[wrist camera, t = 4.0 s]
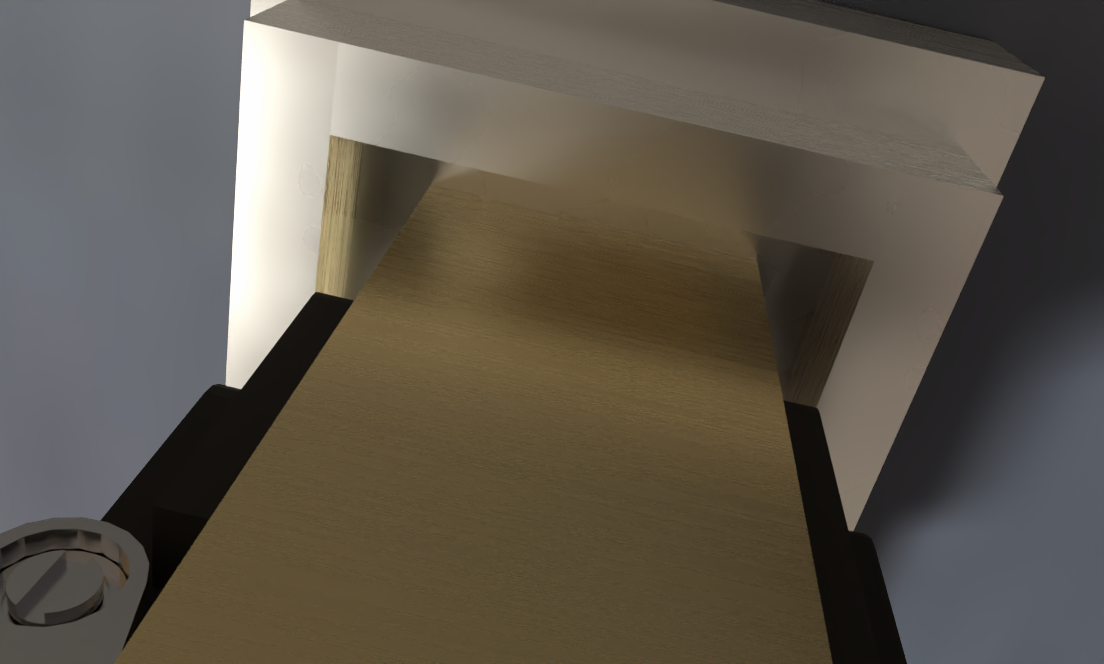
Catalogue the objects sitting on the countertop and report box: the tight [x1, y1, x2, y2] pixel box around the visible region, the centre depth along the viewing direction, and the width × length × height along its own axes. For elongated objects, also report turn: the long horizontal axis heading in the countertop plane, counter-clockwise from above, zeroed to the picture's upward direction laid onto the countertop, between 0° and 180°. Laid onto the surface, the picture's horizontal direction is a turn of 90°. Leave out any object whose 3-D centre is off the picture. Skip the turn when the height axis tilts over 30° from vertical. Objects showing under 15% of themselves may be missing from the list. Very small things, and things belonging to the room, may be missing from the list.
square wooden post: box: [114, 186, 833, 664], centre depth 10 cm, size 4×4×8 cm
